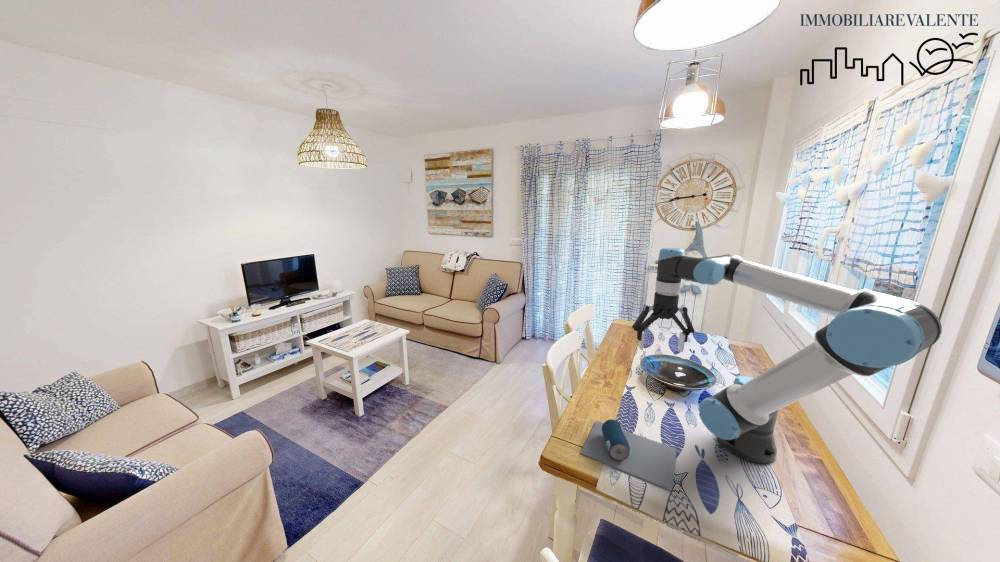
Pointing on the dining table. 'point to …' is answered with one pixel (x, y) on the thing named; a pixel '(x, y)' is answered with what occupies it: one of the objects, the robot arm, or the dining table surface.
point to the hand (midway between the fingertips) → (660, 349)
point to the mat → (636, 457)
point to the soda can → (615, 440)
